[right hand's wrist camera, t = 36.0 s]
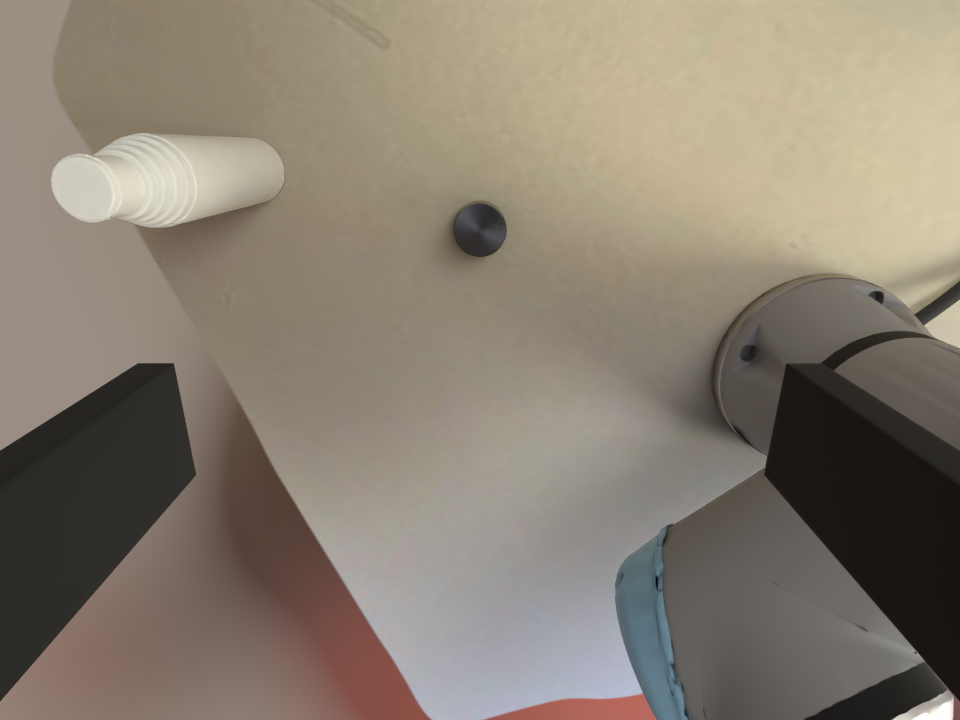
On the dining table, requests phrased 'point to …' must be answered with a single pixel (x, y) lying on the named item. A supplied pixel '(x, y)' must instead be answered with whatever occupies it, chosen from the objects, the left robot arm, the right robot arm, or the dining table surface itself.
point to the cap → (480, 229)
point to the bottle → (167, 178)
